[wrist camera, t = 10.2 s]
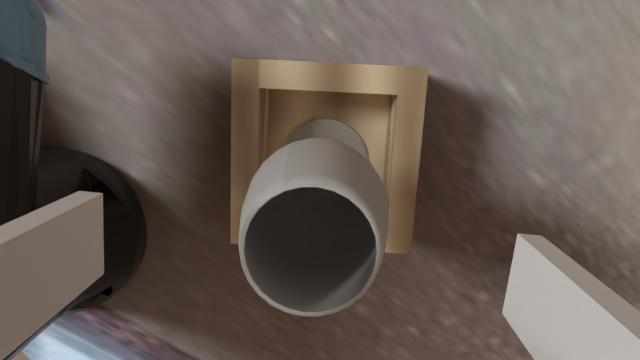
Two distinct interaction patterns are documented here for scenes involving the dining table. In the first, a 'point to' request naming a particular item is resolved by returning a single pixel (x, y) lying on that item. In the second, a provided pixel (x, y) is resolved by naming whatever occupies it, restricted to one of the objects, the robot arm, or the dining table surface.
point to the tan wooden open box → (337, 104)
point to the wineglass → (314, 222)
